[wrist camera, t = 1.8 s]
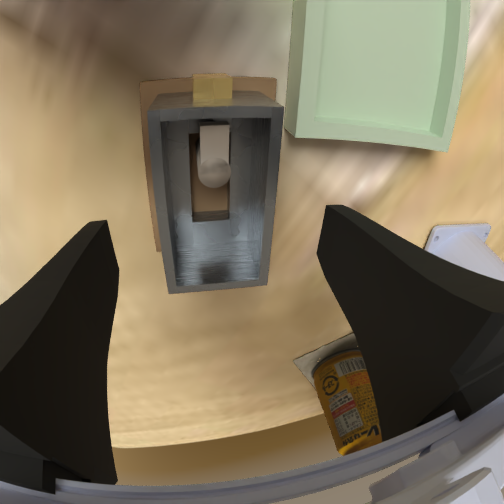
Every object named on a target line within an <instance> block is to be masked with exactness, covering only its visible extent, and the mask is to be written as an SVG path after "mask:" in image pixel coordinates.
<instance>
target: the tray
mask: <svg viewBox="0 0 504 504" xmlns="http://www.w3.org/2000/svg"><path fill="white" fill-rule="evenodd" d="M469 19H470V0H293V13H292V28H291V42H290V56H289V70H288V83H287V95H286V107H285V119H284V128H285V129H286V130H287V131H288V132H290V133H291V134H292V135H293V136H294V137H295V138H319V139H337V140H351V141H363V142H374V143H383V144H392V145H401V146H409V147H416V148H423V149H430V150H436V151H442V152H448V149H449V145H450V141H451V137H452V133H453V128H454V124H455V119H456V115H457V110H458V105H459V99H460V94H461V88H462V82H463V76H464V69H465V61H466V53H467V44H468V33H469Z"/></svg>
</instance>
